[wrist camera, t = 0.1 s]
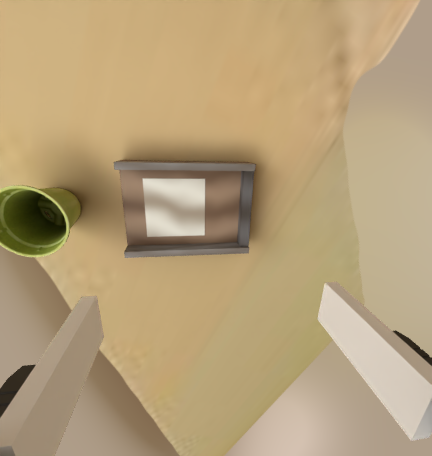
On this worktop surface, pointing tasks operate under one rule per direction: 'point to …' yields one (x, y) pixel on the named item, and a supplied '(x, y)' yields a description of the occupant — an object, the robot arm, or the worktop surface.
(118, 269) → the worktop surface
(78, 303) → the robot arm
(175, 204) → the dock
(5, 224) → the plant pot
